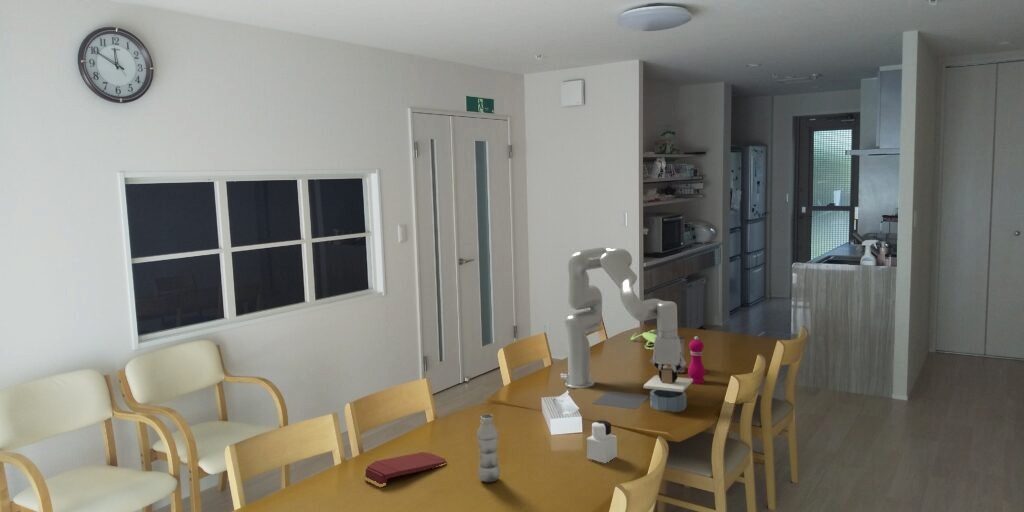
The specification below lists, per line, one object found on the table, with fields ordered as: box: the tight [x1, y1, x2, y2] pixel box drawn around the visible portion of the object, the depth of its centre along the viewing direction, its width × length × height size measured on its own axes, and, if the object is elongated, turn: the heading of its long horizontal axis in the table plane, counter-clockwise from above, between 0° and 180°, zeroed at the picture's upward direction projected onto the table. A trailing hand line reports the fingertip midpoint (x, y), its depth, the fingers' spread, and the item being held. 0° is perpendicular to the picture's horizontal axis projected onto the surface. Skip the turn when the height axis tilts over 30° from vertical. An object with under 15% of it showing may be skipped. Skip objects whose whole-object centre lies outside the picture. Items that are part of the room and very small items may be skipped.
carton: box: [364, 451, 447, 484], centre depth 227 cm, size 12×5×25 cm
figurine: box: [629, 329, 657, 351], centre depth 380 cm, size 18×27×6 cm
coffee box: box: [663, 334, 685, 374], centre depth 327 cm, size 9×6×16 cm
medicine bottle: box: [586, 419, 618, 464], centre depth 230 cm, size 7×7×12 cm
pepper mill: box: [687, 335, 706, 385], centre depth 308 cm, size 7×7×20 cm
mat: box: [591, 390, 650, 410], centre depth 287 cm, size 18×18×1 cm
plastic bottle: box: [476, 413, 501, 483], centre depth 216 cm, size 6×7×20 cm
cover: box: [643, 368, 693, 392], centre depth 277 cm, size 15×15×6 cm
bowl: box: [649, 389, 687, 413], centre depth 278 cm, size 13×13×6 cm
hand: (668, 380), depth 277 cm, fingers closed on cover, 4 cm apart
